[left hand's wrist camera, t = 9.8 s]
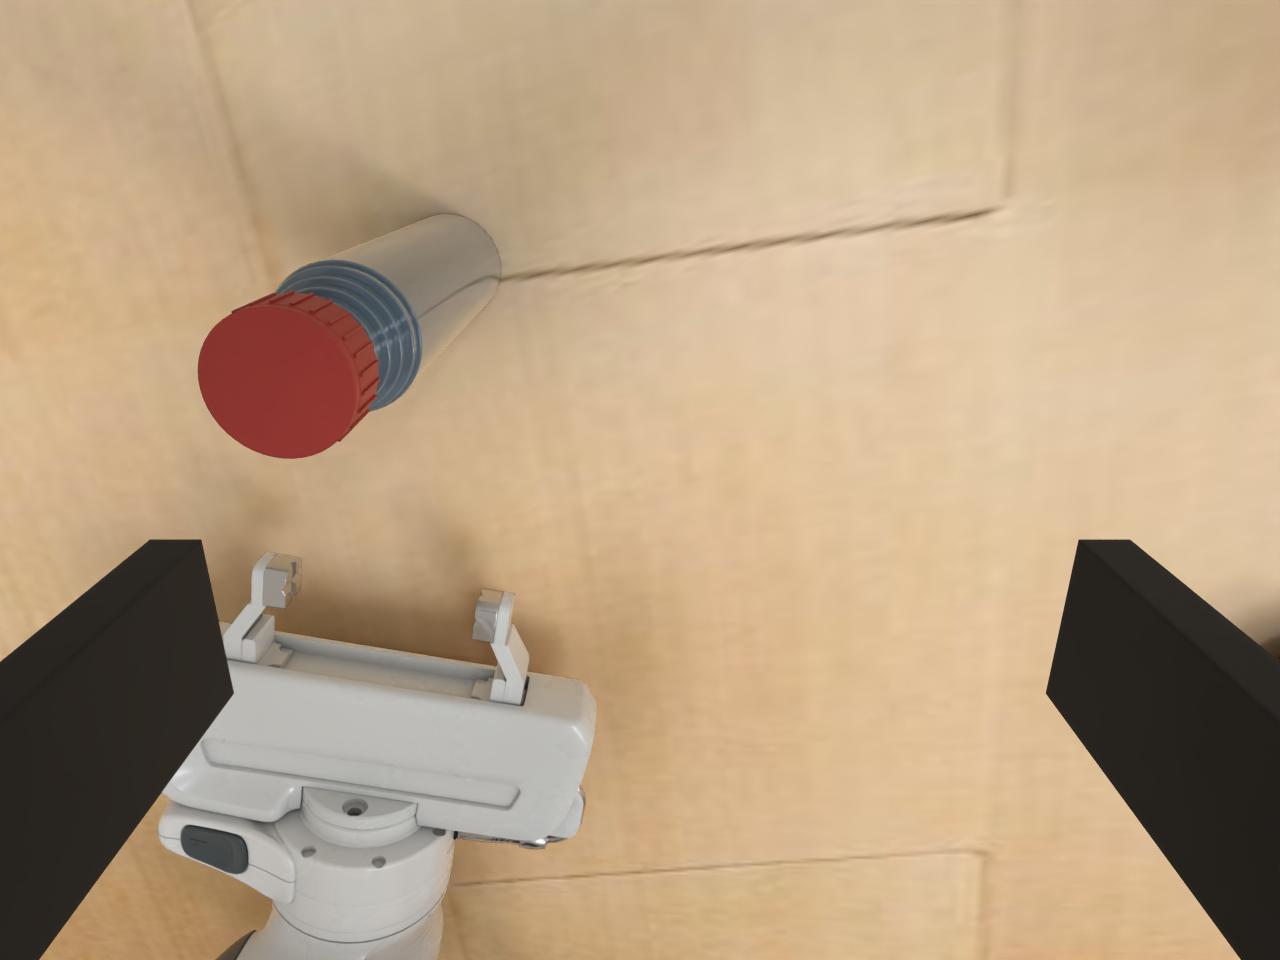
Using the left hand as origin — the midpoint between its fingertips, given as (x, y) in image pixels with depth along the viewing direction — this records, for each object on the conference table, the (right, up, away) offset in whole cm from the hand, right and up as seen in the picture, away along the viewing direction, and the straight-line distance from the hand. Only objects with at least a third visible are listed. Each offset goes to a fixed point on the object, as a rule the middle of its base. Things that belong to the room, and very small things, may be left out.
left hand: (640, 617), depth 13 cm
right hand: (-11, -2, +24) cm, 26 cm away
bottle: (-8, +12, +24) cm, 28 cm away
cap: (-8, +4, +7) cm, 12 cm away
